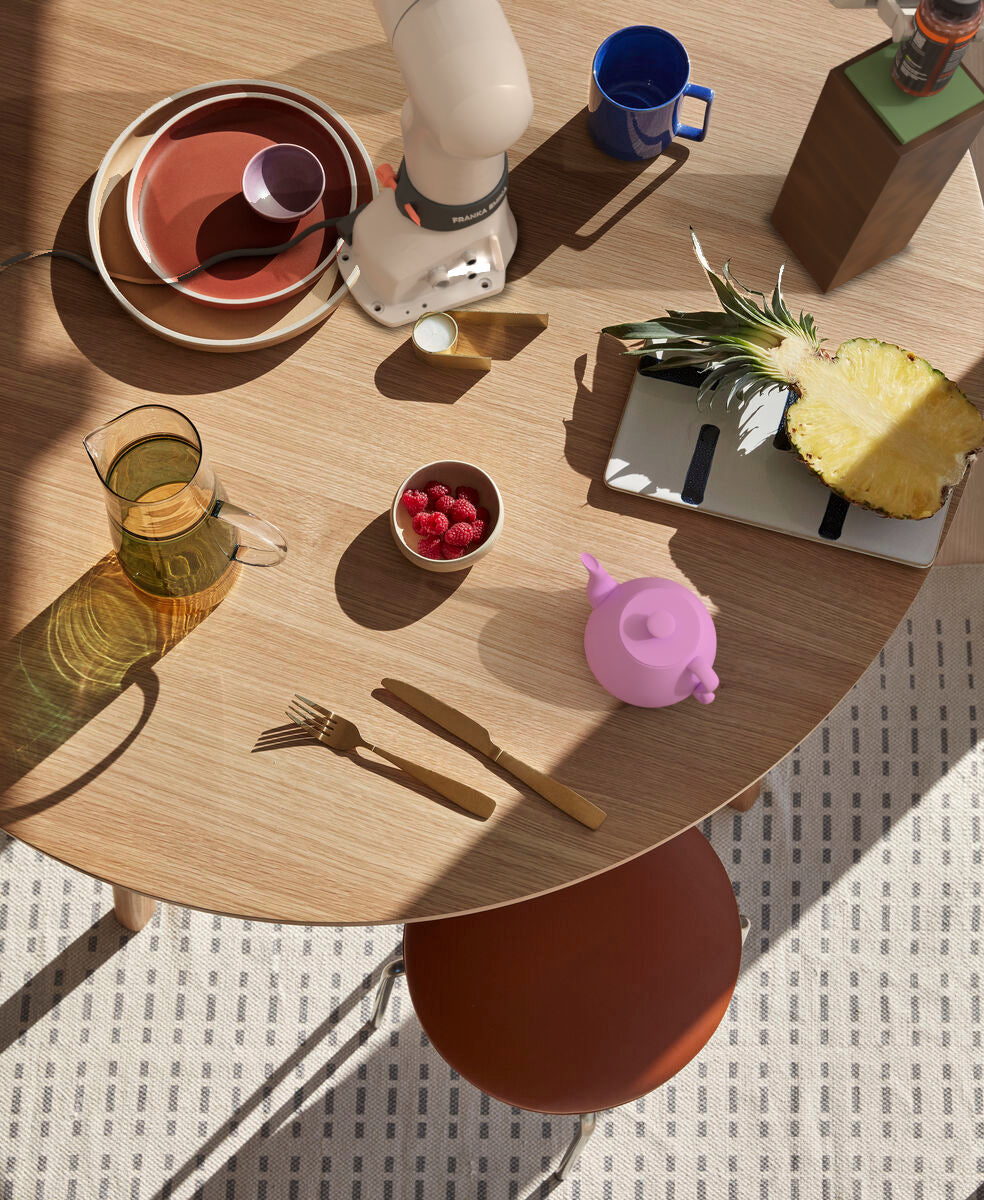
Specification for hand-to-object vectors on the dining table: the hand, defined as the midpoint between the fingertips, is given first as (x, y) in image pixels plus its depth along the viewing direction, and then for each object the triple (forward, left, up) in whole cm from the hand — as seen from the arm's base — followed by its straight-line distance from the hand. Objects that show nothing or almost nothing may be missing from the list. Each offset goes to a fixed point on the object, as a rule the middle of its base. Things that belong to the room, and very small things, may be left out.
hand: (943, 37), depth 103 cm
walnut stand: (0, +1, -34) cm, 34 cm away
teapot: (-49, -30, -34) cm, 66 cm away
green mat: (0, +1, -8) cm, 8 cm away
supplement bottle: (0, +1, -6) cm, 6 cm away
